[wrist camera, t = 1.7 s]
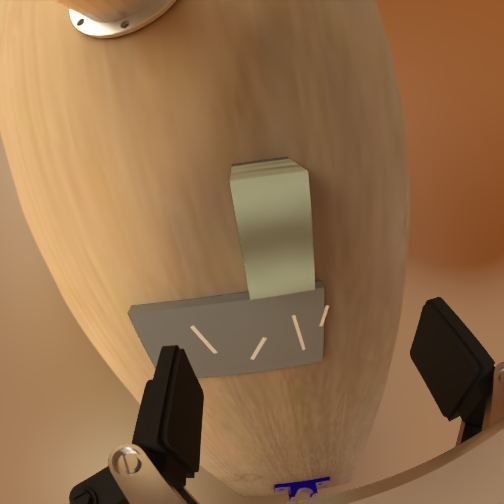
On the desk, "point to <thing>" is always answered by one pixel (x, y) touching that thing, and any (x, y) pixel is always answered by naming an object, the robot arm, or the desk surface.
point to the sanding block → (274, 226)
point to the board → (236, 331)
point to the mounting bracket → (301, 487)
